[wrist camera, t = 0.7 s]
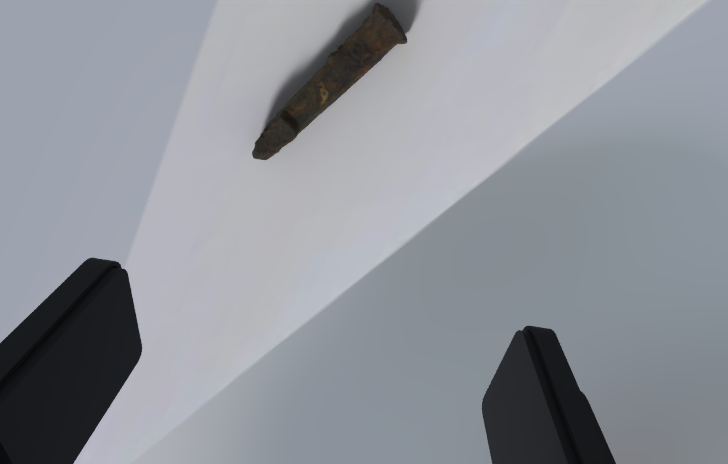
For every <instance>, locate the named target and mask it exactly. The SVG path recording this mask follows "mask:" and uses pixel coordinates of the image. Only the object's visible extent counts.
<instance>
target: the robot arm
mask: <svg viewBox="0 0 728 464" xmlns="http://www.w3.org/2000/svg"><path fill="white" fill-rule="evenodd" d="M141 352H142V344H141V339H140V334H139V329H138V323H137V318H136V313H135V308H134V303H133V298H132V293H131V288H130V283H129V278H128V273H127V271H126V270H125V269H122V268H121V265H120V264H119V263H118V262H115V261H110V260H102V259H97V258H89V259H87V260H86V261H85V262H84V263H83V264H82V265H80V266H79V268H78V269H76V271H74V272H73V273H72V274H71V275H70V277H68V278H67V279H66V280H65V281H64V282H63V283H62V284H61V285H60V286H59V287H58V288H57V289H56V290H55V291H54V292H53V293H52V294H51V295H50V296H49V297H48V298H47V299H46V300H45V301H43V302H42V303H41V304H40V305H39V306H38V307H37V308H36V309H35V310H34V311H33V312H32V313H31V314H30V315H29V316H28V317H27V318H26V319H25V320H24V321H23V322H22V323H21V324H20V325H19V326H18V327H17V328H16V329H14V330H13V332H11V333H10V334H9V335H8V337H6V338H5V339H4V340H3V341H2V342H1V343H0V464H73V463H74V461H75V460H76V458H77V457H78V455H79V454H80V452H81V450H82V449H83V447H84V446H85V444H86V443H87V441H88V439H89V438H90V436H91V435H92V433H93V432H94V430H95V429H96V427H97V425H98V424H99V422H100V421H101V419H102V418H103V416H104V414H105V413H106V411H107V410H108V408H109V407H110V405H111V403H112V402H113V400H114V399H115V397H116V396H117V394H118V392H119V391H120V389H121V388H122V386H123V385H124V383H125V381H126V380H127V378H128V377H129V375H130V374H131V372H132V370H133V369H134V367H135V366H136V364H137V363H138V361H139V359H140V356H141ZM482 413H483V419H484V424H485V429H486V434H487V439H488V444H489V449H490V454H491V459H492V464H616V463H615V461H614V458H613V456H612V454H611V452H610V449H609V447H608V445H607V443H606V440H605V438H604V436H603V433H602V431H601V429H600V427H599V425H598V422H597V420H596V418H595V415H594V413H593V411H592V409H591V406H590V404H589V402H588V400H587V398H586V397H585V395H584V394H583V393H582V392H581V391H580V389H579V387H578V385H577V382H576V380H575V378H574V376H573V373H572V371H571V368H570V366H569V364H568V362H567V359H566V357H565V355H564V352H563V350H562V348H561V346H560V343H559V341H558V339H557V336H556V334H555V332H554V331H553V330H551V329H547V328H540V327H534V326H526V327H525V328H524V329H523V331H520V330H519V331H517V332H516V333H515V335H514V337H513V339H512V341H511V343H510V345H509V347H508V349H507V351H506V353H505V355H504V357H503V360H502V361H501V363H500V365H499V367H498V369H497V371H496V374H495V375H494V378H493V379H492V381H491V384H490V385H489V388H488V389H487V391H486V393H485V396H484V398H483V402H482Z"/></svg>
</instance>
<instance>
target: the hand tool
mask: <svg viewBox="0 0 728 464" xmlns="http://www.w3.org/2000/svg"><path fill="white" fill-rule="evenodd" d="M405 43H407V37H406V36H405V33H404V32H403V29H402V27H401V26H400V24H399V23H398V21H397V20H396V18H395V17H394V15H393V14H392V13H391V12H390V11H389V10H388V8H385V7H384V6H383V5H381V4H379V3H376V4H375V5H374V8H373V11H372V14H371V16H370V17H369V18H367V19H365V21H364V23H363V26H362V27H361V28H360V29H358V30H357V31H356V32H355V33H354V34H353V35H352V36H351V37H349V38H348V39H347V40H346V42H345V43H344V44H343V45H341V46H339V47H338V48H337V49H338V50H336V51H335V52H333V53H331V54H330V55H329V57H328V59H327V62H326V64H325V65H324V66H323V67H322V68H321V69H320V70H319V71H318V72H317V73H316V74H315V75H314V76H313V77H312V78H311V79H310V81H309V82H308V83H307V84H306V85H305V86H304V87H303V88H302V89H301V90H300V91H299V92H298V93H297V94H296V95H295V96H294V97H293V98H292V99H291V100H290V101H289V102H288V103H287V104H286V106H285V107H284V108H282V109H281V110H280V111H279V112H278V113H277V115H276V117H275V118H274V119H273V120H272V121H270V122H269V124H268V125H267V126H266V128H265V130H264V131H263V132H262V133H261V136H260V137H259V139H258V140H257V141H256V142H255V148H254V150H253V152H252V155H253V158H255V159H261V160H267V159H269V158H270V157H272V156H273V155H274V154H276V153H277V152H279V151H280V149H281V148H282V147H284V146H285V145H287V144H288V143H290V142H291V141H293V140H294V139H295V138H296V136H297V135H298V134H299V133H300V132H301V131H302V130H303V129H304V128H306V127H307V126H308V125H309V124H310V123H311V122H312V121H313V120H314V119H315V118H316V117H317V116H318V115H319V114H321V113H322V112H323V111H324V110H325V109H326V108H328V107H329V106H330V105H331V104H333V103H334V102H335V101H336V100H337V99H338V98H339V97H340V96H341V95H342V94H344V93H345V92H346V91H347V90H348V89H349V88H350V87H351V86H352V85H353V84H354V83H356V82H357V81H358V80H359V79H360V78H361V77H362V76H364V75H365V74H366V73H367V72H368V71H369V70H370V69H371V68H372V67H373V66H374V65H376V64H377V63H378V62H379V61H380V60H381V59H382V58H383V57H384V56H385V55H386V54H387V53H388V52H389V51H390V50H391V49H392V48H393V47H394V46H396V45H397V44H405Z"/></svg>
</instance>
